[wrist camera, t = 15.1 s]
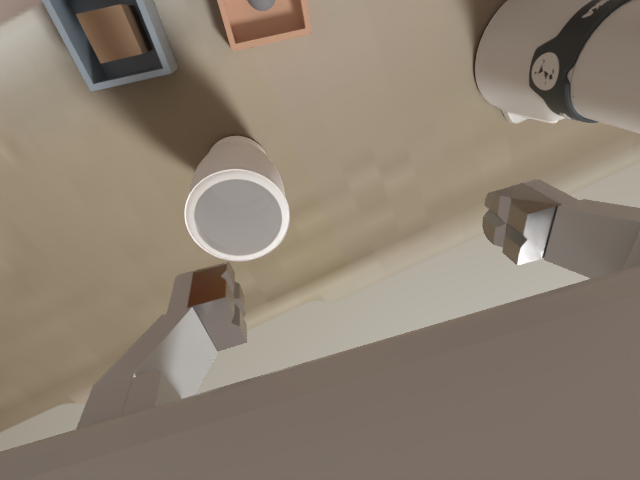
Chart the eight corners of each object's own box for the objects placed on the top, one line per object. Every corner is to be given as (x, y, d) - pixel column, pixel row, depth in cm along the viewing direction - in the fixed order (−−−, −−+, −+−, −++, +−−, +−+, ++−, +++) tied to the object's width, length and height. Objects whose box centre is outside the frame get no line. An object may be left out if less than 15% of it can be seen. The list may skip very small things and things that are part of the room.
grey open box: (144, -22, 34) (132, -28, 30) (178, 67, 38) (171, 73, 34) (61, -5, 33) (37, -8, 29) (106, 83, 38) (90, 91, 34)
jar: (185, 137, 43) (164, 185, 30) (265, 118, 43) (276, 158, 31) (215, 209, 49) (207, 273, 36) (284, 191, 49) (300, 248, 37)
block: (134, 5, 34) (120, 4, 30) (152, 49, 37) (142, 53, 33) (95, 14, 34) (75, 14, 30) (116, 58, 36) (100, 63, 32)
